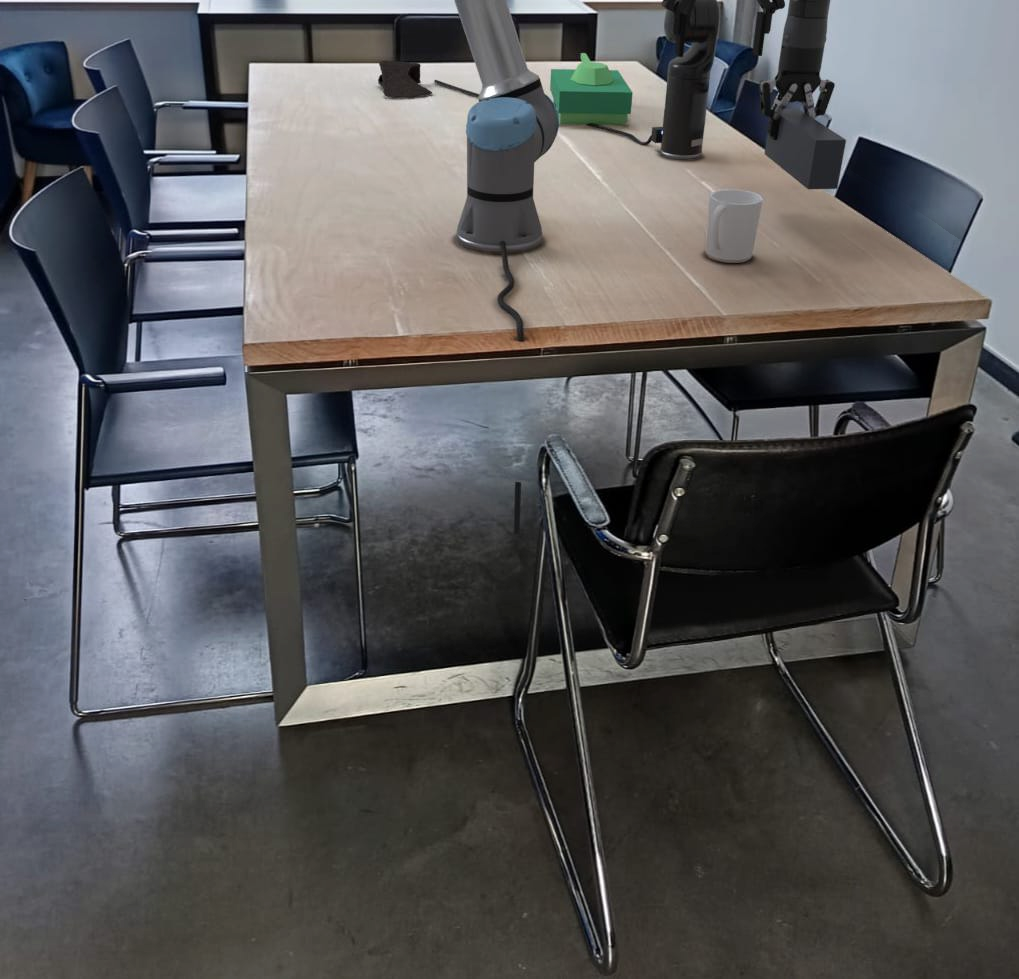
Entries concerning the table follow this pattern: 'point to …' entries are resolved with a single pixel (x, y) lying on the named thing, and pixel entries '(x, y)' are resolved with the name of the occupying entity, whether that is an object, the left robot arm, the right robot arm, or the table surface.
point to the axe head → (401, 79)
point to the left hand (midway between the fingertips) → (718, 55)
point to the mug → (732, 225)
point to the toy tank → (590, 94)
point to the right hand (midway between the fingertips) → (788, 138)
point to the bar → (807, 150)
